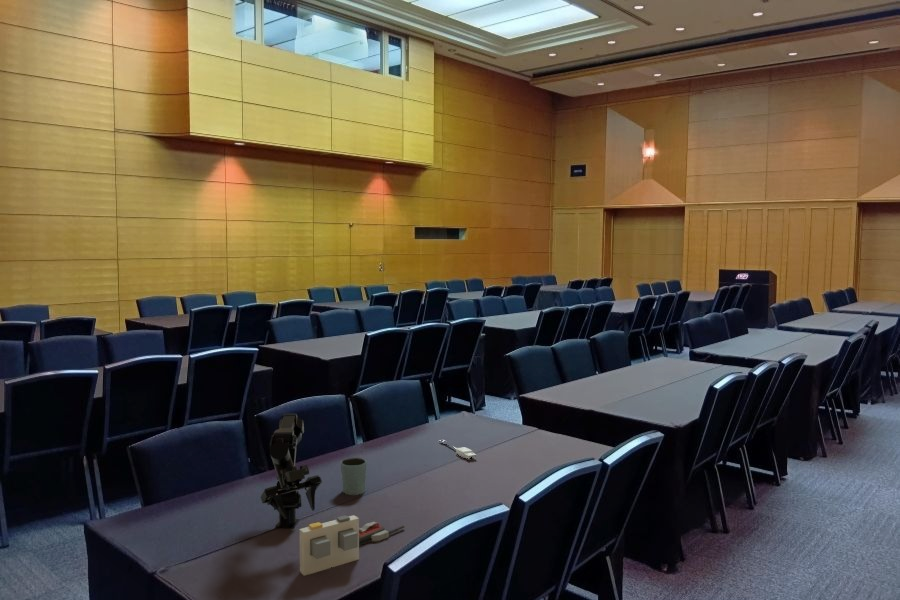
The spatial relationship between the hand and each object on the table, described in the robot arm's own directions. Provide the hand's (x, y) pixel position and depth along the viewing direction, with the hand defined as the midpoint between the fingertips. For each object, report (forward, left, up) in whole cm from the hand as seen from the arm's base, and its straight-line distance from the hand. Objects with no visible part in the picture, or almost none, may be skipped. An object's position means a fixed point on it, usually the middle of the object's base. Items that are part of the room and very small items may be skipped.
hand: (300, 514), depth 209 cm
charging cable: (-109, +42, -13) cm, 117 cm away
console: (+7, +11, -12) cm, 18 cm away
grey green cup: (-54, +5, -13) cm, 55 cm away
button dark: (+5, +15, -7) cm, 17 cm away
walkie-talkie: (-15, +21, -13) cm, 29 cm away
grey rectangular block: (+11, +8, -7) cm, 15 cm away
